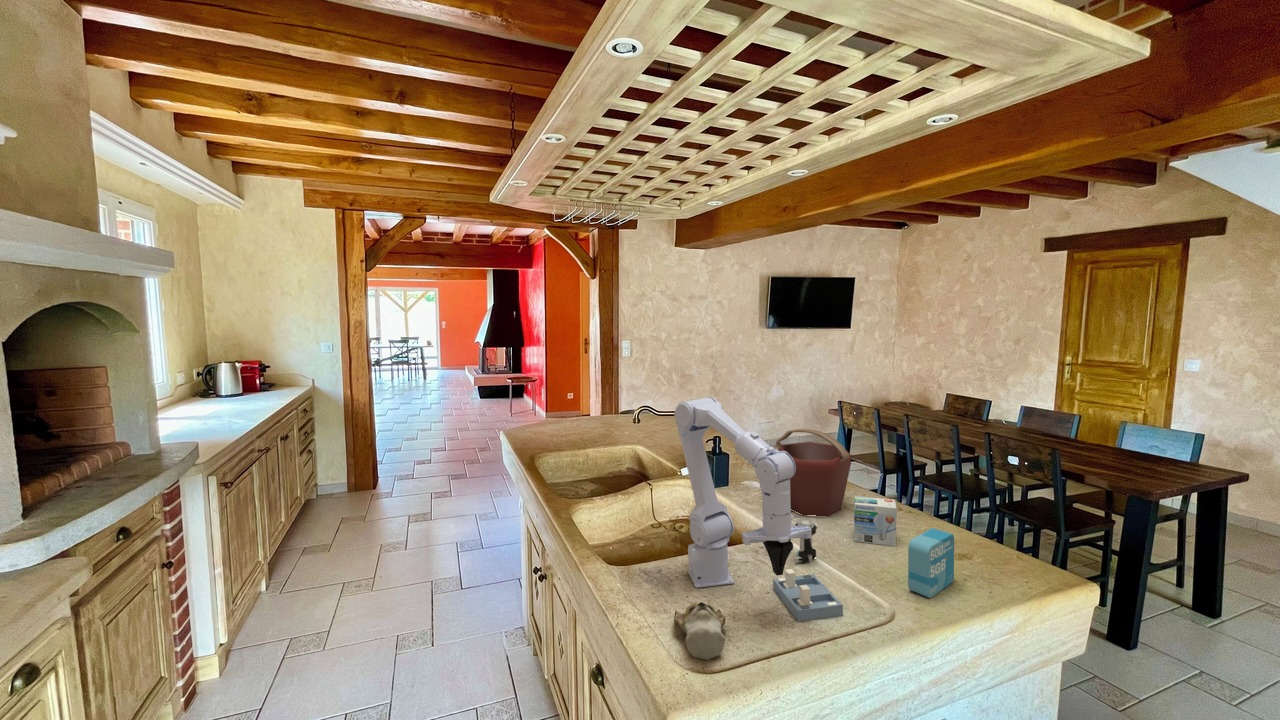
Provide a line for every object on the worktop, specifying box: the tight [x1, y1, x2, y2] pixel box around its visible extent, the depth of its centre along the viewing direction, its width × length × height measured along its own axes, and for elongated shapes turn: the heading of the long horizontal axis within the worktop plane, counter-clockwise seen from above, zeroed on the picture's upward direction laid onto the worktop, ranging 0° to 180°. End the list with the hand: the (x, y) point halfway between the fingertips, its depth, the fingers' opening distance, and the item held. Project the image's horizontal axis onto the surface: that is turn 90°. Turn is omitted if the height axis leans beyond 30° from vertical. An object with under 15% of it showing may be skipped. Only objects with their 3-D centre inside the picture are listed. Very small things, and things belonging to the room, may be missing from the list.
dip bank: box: [772, 573, 844, 623], centre depth 115 cm, size 10×13×2 cm
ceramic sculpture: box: [673, 601, 727, 661], centre depth 102 cm, size 11×9×15 cm
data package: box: [907, 527, 955, 599], centre depth 118 cm, size 12×4×12 cm, turn 125°
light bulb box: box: [853, 495, 898, 547], centre depth 143 cm, size 11×7×11 cm, turn 68°
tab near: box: [797, 585, 813, 606], centre depth 111 cm, size 3×2×4 cm
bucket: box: [775, 428, 852, 518], centre depth 167 cm, size 24×22×25 cm
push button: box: [794, 519, 818, 564], centre depth 133 cm, size 7×5×10 cm
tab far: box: [783, 568, 798, 589], centre depth 118 cm, size 3×2×4 cm
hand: (777, 572), depth 109 cm, fingers closed
